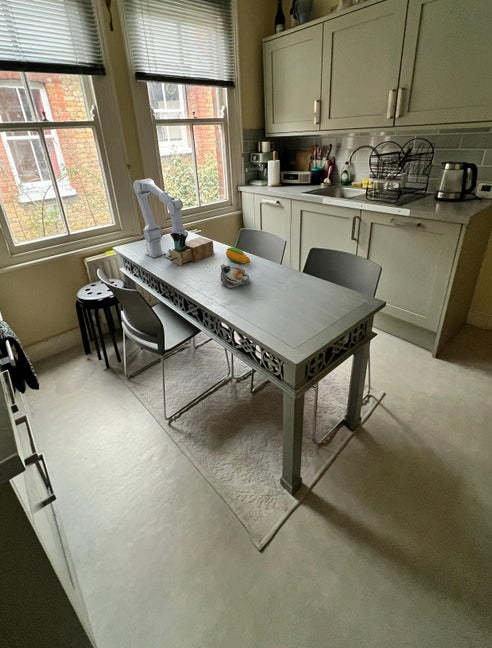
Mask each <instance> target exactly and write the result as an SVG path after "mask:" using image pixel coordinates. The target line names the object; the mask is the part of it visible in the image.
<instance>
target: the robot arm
mask: <svg viewBox="0 0 492 648" xmlns="http://www.w3.org/2000/svg"><path fill="white" fill-rule="evenodd" d="M132 187H133V191H134V193H135V196H136V197H137V198H136V199H137V201H138V204H139V207H140V210H141V214H142V218H143V220H144V223H145V226H144V228H143V229H142V231H143V238H144V240H145V247H146V253H145V255H147V256H149V257H151V258H154V259H155V258H157V257H158V258H159V257H160V256H163V255H166V252H163V248H162V241H161V240H162V238H163V233H164V232H163V231H162V229H161V226H160V225H159V224H158V223H156V221H155V219H154V215H153V212H152V208H151V206H150V202H149V199H148V195H149V194H150V193H152V194H154V195H155V196H157V197H158V200H159V201H160V202H161V203H163V204H164V205H165V206H166V208H167V210H168V212H169V215H170V220H171V227H169V228H168V232H169V235H170V237H171V239H172V240H173V242H174V241H176V240H179V241H180V245H181V247H185V242H187V238H188V236H189V231H186V229H184V222H183V215H182V209H183V207H184V203H183V201H182V199H180V198H179V197H174V196H173V195H171V194H170V193H169V192H168V191H166V190H165V191H163V190H162V189H160V188H159V187H158V186H157V185H156V184H155V181H154V180H153V179H152V178H150V177H148V178H145V179H138V180H137V179H136V180H134V182H133V184H132Z"/></svg>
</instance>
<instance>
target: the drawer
mask: <svg viewBox="0 0 492 648" xmlns="http://www.w3.org/2000/svg"><path fill="white" fill-rule="evenodd" d="M167 251H168V253H167V254H168V255H166V256H164V259H165V260H168V261H169V262H171V263H174V264H175V265H179V266H183V264H184V263H188V262H190V261H191V260H193V259H194V257H193V249H192V248H189V247H186V248H185V249H182V250H177V249H175V247H174V248H172V249H170V248H169V249H168V250H167ZM191 262H192V261H191Z"/></svg>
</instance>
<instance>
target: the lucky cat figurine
mask: <svg viewBox="0 0 492 648" xmlns="http://www.w3.org/2000/svg"><path fill="white" fill-rule="evenodd" d="M220 269H221V272H220V282H221V283H222V285H223V286H224V287H227V288H229V289H232V288H236V287H239V286H243V285H247V284H249V283H250V276H249V274H248V273H247V272H246V269H245V268H244V267H242V266H241V263H240V264H239V263H228V264H227V265H226V264H225V263H222V264H221V265H220Z"/></svg>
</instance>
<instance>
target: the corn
mask: <svg viewBox="0 0 492 648" xmlns="http://www.w3.org/2000/svg"><path fill="white" fill-rule="evenodd" d="M225 256H226V257H227V259H229V260H230V261H232V262H233V263H235V264H240V265H241V264H249V263H251V259H250V257H249V256H247V254H245V253H244V251H243V250H241V249H240V248H239V247H235V246H233V247H228V248H227V249H226V251H225Z"/></svg>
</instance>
